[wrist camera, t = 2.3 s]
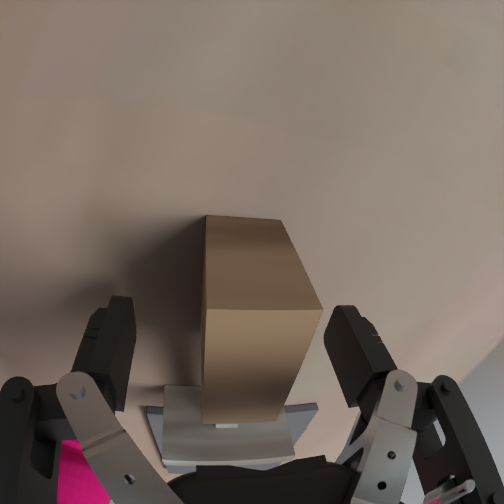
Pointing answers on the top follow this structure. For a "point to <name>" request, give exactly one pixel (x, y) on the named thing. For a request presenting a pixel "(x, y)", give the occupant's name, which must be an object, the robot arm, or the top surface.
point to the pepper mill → (78, 478)
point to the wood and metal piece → (243, 348)
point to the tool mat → (297, 424)
